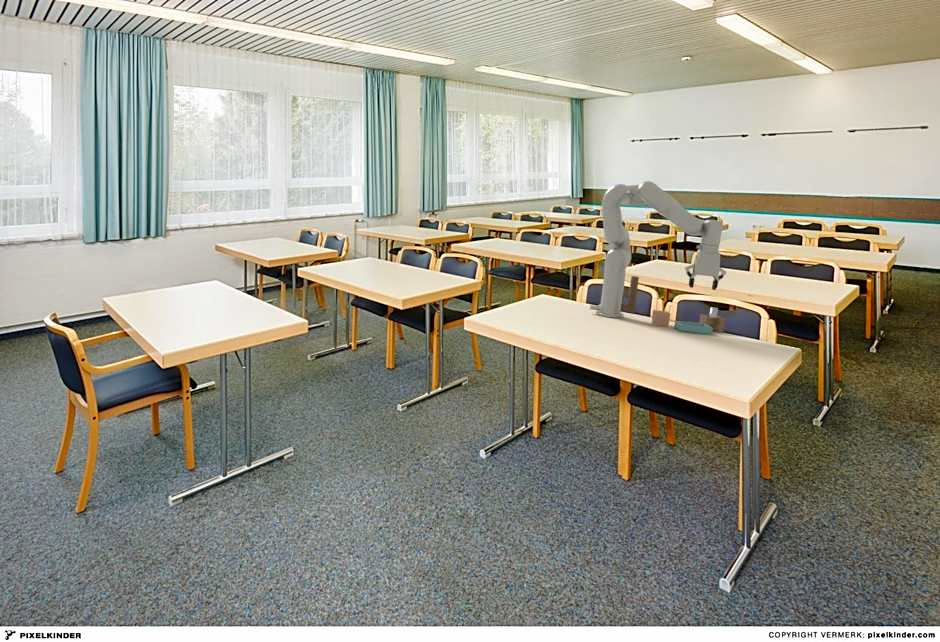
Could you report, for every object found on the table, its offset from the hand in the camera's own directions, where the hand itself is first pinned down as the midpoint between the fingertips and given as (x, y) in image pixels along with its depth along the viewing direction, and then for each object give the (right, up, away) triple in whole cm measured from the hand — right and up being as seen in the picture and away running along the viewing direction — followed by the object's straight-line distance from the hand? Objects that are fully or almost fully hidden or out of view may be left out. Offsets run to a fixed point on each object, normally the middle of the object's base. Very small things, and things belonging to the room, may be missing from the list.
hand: (702, 288), depth 254 cm
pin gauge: (+5, -18, +3) cm, 19 cm away
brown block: (+5, -18, +3) cm, 19 cm away
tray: (-6, -19, -5) cm, 20 cm away
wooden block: (-24, -10, +38) cm, 46 cm away
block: (-17, -16, +4) cm, 24 cm away
